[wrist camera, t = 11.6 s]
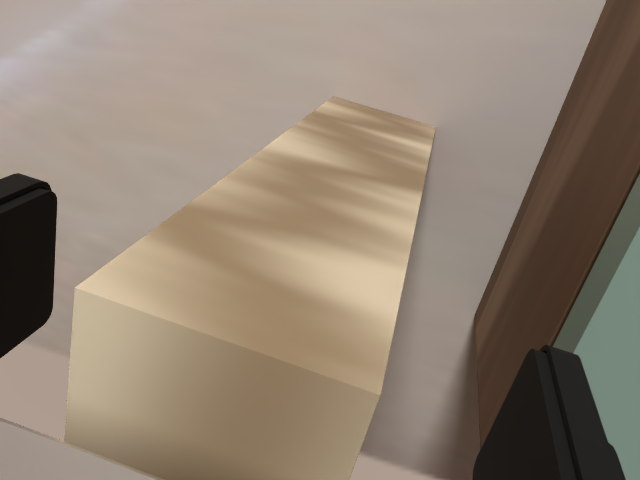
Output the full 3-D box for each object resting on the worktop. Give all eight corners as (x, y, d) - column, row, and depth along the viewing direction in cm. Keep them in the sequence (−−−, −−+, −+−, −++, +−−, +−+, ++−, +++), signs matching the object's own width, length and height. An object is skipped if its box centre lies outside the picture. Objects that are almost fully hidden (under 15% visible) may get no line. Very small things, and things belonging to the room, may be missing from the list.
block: (435, 127, 21) (380, 395, 7) (403, 223, 23) (303, 601, 8) (333, 96, 22) (74, 287, 7) (308, 193, 23) (59, 504, 9)
